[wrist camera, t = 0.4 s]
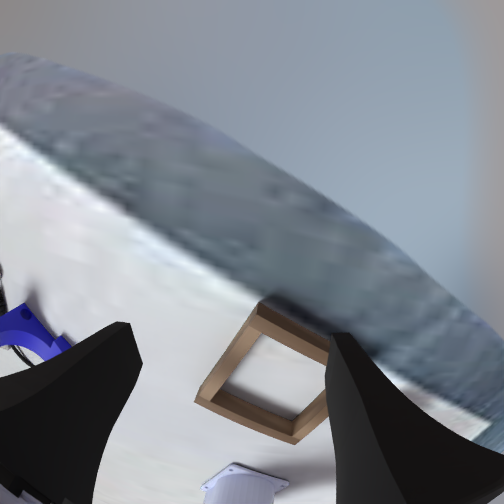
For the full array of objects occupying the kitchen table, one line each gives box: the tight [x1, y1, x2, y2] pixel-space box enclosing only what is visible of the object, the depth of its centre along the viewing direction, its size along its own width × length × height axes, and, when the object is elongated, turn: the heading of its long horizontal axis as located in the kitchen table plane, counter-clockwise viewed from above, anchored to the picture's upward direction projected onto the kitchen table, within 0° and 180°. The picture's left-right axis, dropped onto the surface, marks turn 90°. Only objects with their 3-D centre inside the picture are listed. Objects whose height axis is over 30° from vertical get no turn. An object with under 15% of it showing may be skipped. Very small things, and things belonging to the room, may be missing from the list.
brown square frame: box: [194, 302, 330, 445], centre depth 21 cm, size 10×10×2 cm
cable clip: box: [0, 303, 72, 361], centre depth 21 cm, size 12×4×6 cm, turn 47°
